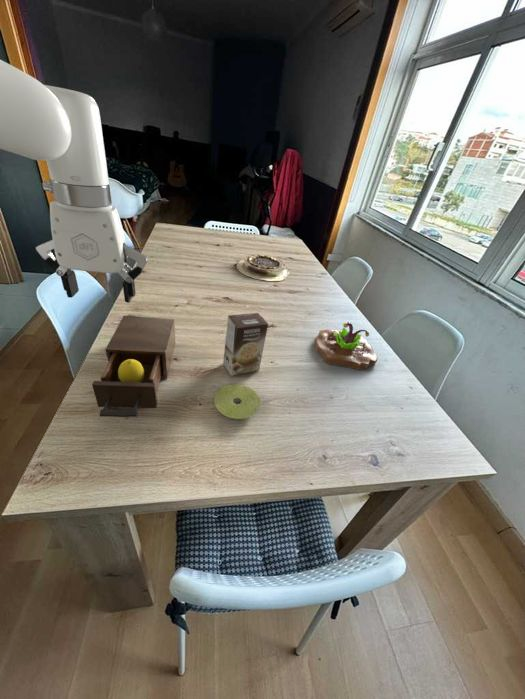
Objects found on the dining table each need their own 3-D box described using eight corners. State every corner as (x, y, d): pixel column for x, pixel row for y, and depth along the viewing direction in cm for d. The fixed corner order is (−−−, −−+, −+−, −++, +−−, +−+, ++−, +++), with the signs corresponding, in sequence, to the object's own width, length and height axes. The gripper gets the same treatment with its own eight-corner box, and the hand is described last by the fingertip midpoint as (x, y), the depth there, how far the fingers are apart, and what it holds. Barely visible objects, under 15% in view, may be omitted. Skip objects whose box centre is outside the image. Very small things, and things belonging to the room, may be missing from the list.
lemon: (121, 396, 67) (116, 370, 63) (119, 380, 71) (114, 354, 66) (147, 391, 70) (144, 365, 65) (144, 376, 74) (140, 351, 69)
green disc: (235, 383, 79) (236, 378, 78) (267, 406, 74) (269, 401, 73) (204, 404, 72) (204, 399, 70) (237, 432, 67) (238, 426, 66)
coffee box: (230, 376, 81) (235, 328, 72) (222, 362, 85) (226, 315, 76) (260, 370, 85) (268, 323, 76) (251, 357, 89) (258, 311, 80)
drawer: (151, 428, 63) (148, 406, 59) (88, 427, 61) (81, 405, 57) (166, 367, 79) (165, 346, 75) (117, 365, 77) (113, 343, 73)
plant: (308, 332, 106) (316, 305, 99) (359, 336, 109) (369, 309, 102) (322, 368, 90) (333, 338, 84) (381, 371, 93) (395, 343, 87)
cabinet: (167, 378, 77) (165, 352, 72) (111, 376, 75) (105, 349, 70) (175, 343, 89) (174, 319, 84) (127, 340, 87) (123, 315, 82)
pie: (277, 286, 134) (279, 276, 131) (226, 269, 142) (226, 259, 139) (297, 269, 156) (299, 260, 153) (252, 255, 163) (253, 246, 160)
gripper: (4, 190, 40) (40, 301, 50) (137, 208, 43) (146, 310, 53) (33, 182, 46) (60, 283, 56) (148, 199, 49) (154, 292, 59)
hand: (101, 296), depth 54 cm, fingers open, 9 cm apart
